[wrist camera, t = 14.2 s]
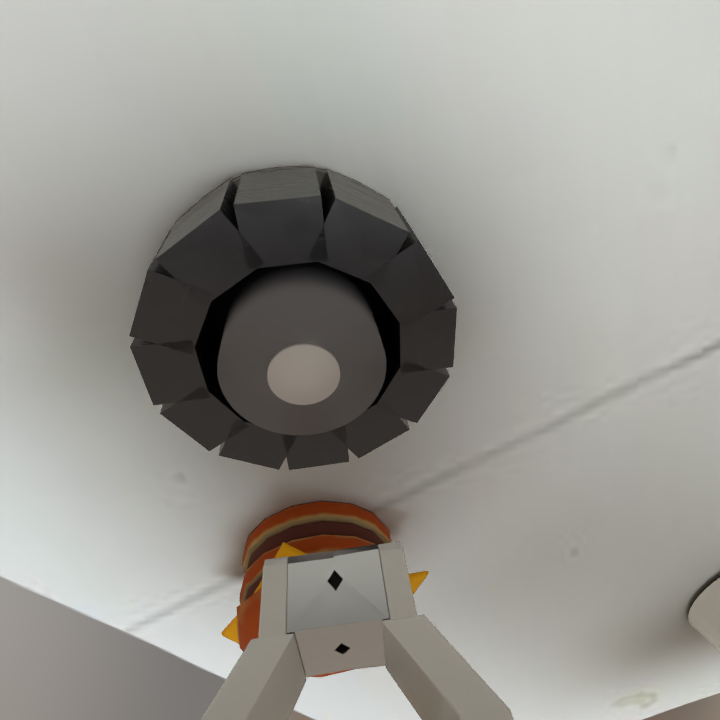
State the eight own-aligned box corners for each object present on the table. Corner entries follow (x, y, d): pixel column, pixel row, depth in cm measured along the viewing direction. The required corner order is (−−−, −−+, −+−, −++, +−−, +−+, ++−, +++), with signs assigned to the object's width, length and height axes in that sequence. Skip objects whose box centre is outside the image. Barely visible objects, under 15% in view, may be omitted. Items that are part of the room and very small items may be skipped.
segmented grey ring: (430, 152, 17) (464, 181, 14) (425, 389, 24) (447, 447, 20) (119, 182, 17) (79, 219, 13) (199, 419, 23) (185, 484, 20)
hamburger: (270, 482, 26) (269, 600, 21) (419, 514, 30) (450, 623, 24) (217, 579, 30) (204, 698, 25) (352, 598, 34) (366, 706, 28)
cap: (363, 236, 18) (384, 290, 14) (371, 356, 22) (390, 427, 18) (215, 252, 18) (196, 313, 14) (245, 372, 21) (236, 448, 17)
